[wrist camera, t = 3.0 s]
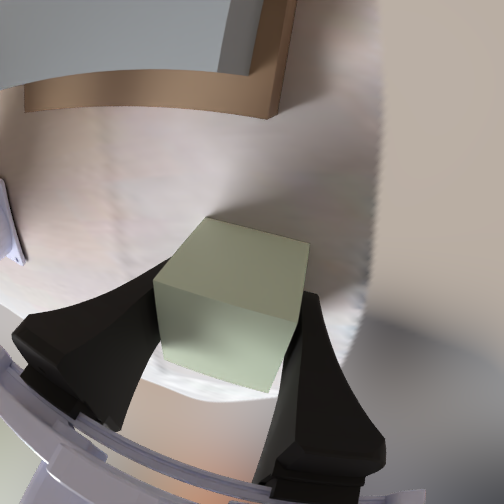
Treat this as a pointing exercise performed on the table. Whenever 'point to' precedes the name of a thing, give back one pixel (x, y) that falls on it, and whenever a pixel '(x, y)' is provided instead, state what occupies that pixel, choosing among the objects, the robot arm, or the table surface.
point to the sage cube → (231, 302)
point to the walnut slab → (184, 79)
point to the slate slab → (124, 37)
